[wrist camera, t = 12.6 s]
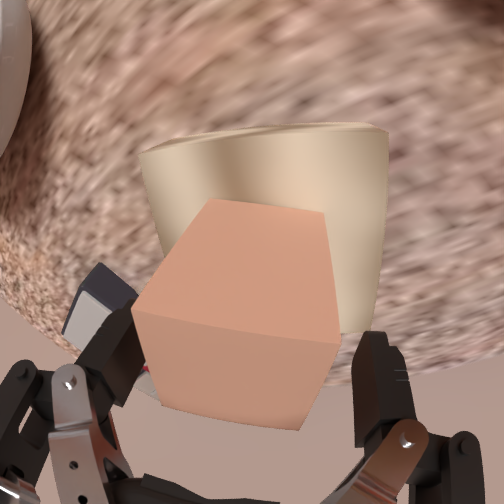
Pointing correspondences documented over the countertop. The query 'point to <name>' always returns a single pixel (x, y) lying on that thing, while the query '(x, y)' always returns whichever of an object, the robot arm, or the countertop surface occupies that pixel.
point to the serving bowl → (13, 64)
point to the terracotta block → (242, 315)
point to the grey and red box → (101, 314)
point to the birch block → (286, 191)
